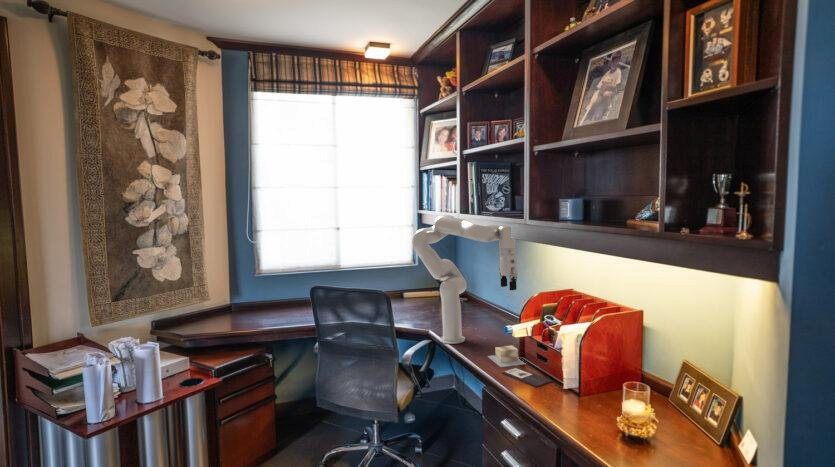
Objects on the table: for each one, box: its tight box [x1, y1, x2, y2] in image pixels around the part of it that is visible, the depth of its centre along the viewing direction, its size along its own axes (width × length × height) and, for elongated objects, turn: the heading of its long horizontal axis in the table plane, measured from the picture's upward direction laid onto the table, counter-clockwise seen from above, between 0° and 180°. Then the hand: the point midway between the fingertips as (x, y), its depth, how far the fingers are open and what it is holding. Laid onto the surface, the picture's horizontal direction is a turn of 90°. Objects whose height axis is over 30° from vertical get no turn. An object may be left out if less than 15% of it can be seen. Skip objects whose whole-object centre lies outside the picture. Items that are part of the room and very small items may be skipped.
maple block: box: [494, 345, 519, 363], centre depth 197 cm, size 8×6×5 cm
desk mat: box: [487, 354, 527, 368], centre depth 197 cm, size 14×12×1 cm
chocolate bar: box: [501, 366, 554, 389], centre depth 177 cm, size 9×1×18 cm
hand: (508, 288), depth 213 cm, fingers open, 9 cm apart
